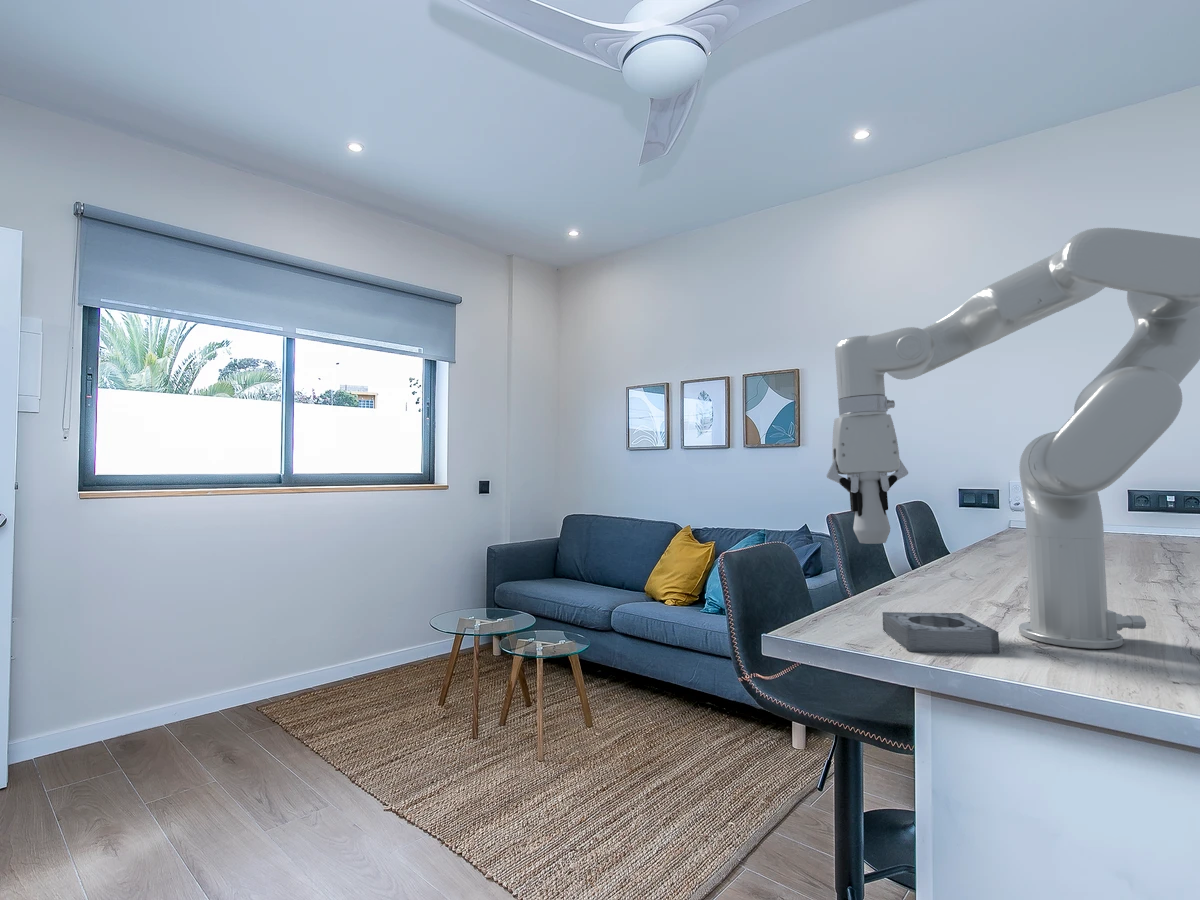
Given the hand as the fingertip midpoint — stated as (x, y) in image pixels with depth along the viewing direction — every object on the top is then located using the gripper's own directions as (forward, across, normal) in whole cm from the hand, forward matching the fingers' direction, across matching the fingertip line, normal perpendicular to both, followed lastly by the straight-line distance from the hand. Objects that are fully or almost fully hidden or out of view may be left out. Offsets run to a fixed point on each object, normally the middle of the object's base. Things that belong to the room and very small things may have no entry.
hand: (869, 514), depth 105 cm
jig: (+19, -6, +10) cm, 22 cm away
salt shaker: (+5, 0, 0) cm, 5 cm away
